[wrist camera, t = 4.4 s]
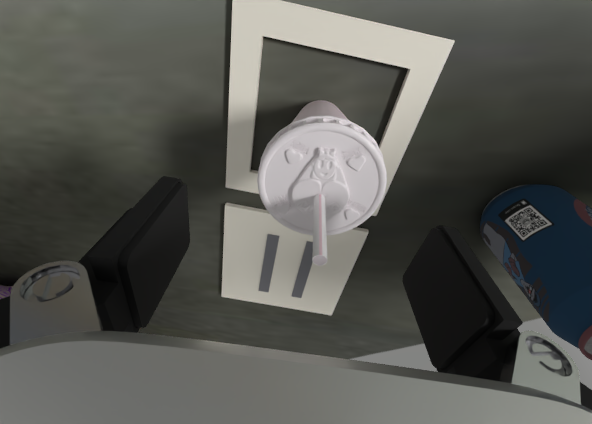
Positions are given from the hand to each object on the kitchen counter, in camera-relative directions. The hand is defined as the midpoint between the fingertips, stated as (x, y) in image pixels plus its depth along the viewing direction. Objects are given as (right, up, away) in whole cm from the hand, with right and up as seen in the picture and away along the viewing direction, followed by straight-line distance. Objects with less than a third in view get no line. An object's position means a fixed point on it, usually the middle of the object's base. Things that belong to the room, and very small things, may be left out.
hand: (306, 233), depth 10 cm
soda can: (+19, +1, +14) cm, 24 cm away
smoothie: (+1, +8, +11) cm, 13 cm away
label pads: (0, +1, +15) cm, 15 cm away
